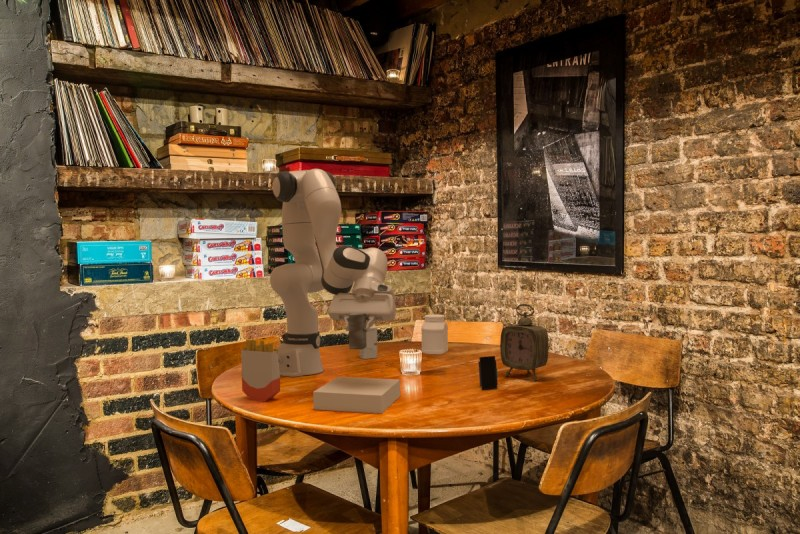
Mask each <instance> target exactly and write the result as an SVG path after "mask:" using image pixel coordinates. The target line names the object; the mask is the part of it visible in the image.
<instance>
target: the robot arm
mask: <svg viewBox="0 0 800 534" xmlns="http://www.w3.org/2000/svg"><path fill="white" fill-rule="evenodd" d="M336 187H337V186H336V179H335V177H334V176H333V174H332V173H331V172H328V171H324V170H323V169H320V168H312V169H303V170H292V171H289V170H284V171H283V170H282V171H280V172H279V171H278V172H277V173H276V174H275V176H273V180H272V193H273V196H274V198H275V199H276V200H277V201H279V202H282V207H281V208H282V209H281V226H282V238H283V239H282V240H283V246H284V248H285V249H286V251H288V252H289V253H290V254H291V255H292V257H293V260H294V261H295V262H294V263H285V264H282V265H278V266H276V267H275V268H273V269H272V270H271V273H270V275H269V284H270V287H271V289H272V290H273V292H275V294H277V295H278V296H279V297H280V299H281V301H282V303H283V305H284V308H285V314H286V327H287V328H286V331H287V332H285V333H283V334H282V335H281V336H280V340H282V343H281V344H279V345H278V346H277V347H276V348H275V349H278V360H279V371H280V377H281V376H284V377H291V378H293V377H295V378H296V377H300V376H306V375H307V376H308V375H316V374H320V373H322V372H324V367H323V363H322V359H321V353H320V347H321V346H320V345H321V336H320V331H319V312H318V309H317V308H316V307H315V306H314V305H312V304H311V302H310V300H309V297H308V294H309V293H312V294H313V293H318V292H321V291H324V290H325V291H327V292H328V293H330V294H332V295H333V296H332V300H331V302H330V304H329V307H328V309H327V314H328V315H329V318H330V319H331V320H332V321H344V322H345V326H344V327H345V328H344V329H345V332H349V317H348V315H349V314H352V313H366V324H364V326H363V330H364V331H366V332H369V330H370V327H373V326H374V325H375V324H376V322H392V321H394V320H395V318H396V314H397V306H396V296H395V292H394V289H393V288H392V286H390V285H387V284H384V282H385V280H386V277H387V272H388V263H389V262H388V257H387V255H386V254H385V252H384V251H383V250H382V249H379V248H377V247H368V248H364V249H363V248H362V249H361V248H356V247H355V246H352V245H349V244H345V245H340V246H337V241H336V238H337V231H338V226H339V223H340V220H341V216H342V204H341V202H342V201H341V199H340V196H339V193H338V191H337V189H336ZM273 351H274V349H273Z"/></svg>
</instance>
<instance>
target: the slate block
mask: <svg viewBox="0 0 800 534" xmlns="http://www.w3.org/2000/svg"><path fill="white" fill-rule="evenodd" d="M348 317H349V322H348V323H349V331H348V349H349V350H359V351H360V350H362V349H364V348H366V347H367V343H366V331H364V330H363V326H364V324H367V321H366V313H352V314H349V315H348Z"/></svg>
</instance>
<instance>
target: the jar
mask: <svg viewBox="0 0 800 534" xmlns="http://www.w3.org/2000/svg"><path fill="white" fill-rule="evenodd" d="M445 317H446V316H445V315H444V314H438V313H437V314H435V313H434V314H426V315H424V322H423V323H422V325H421V327H420V329H421V353H423V354H427V355H443V354H445V353H446V352H448V351H449V346H448V345H449V340H448V339H449V337H448V336H449V331H448V330H449V327H448V324H447V322H445Z"/></svg>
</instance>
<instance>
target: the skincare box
mask: <svg viewBox="0 0 800 534" xmlns="http://www.w3.org/2000/svg"><path fill="white" fill-rule="evenodd" d="M366 343H367V347H366V348H364V349H362V350H360V349H359V359H363V360H367V359H377V358H378V327H376V326H371V327H370V330H369V332H366Z"/></svg>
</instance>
